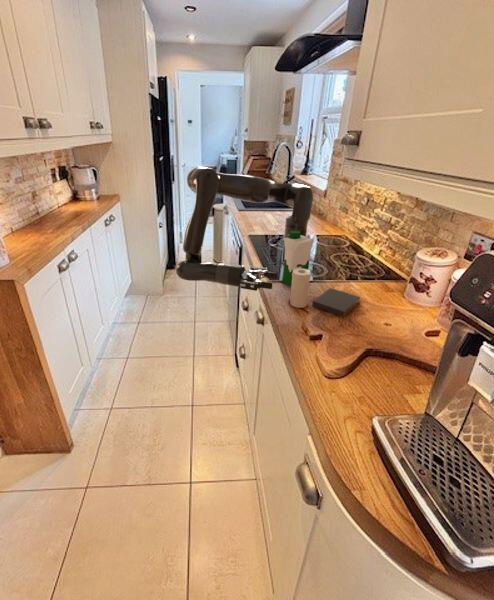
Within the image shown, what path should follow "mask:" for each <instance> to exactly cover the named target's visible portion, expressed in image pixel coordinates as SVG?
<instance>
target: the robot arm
mask: <svg viewBox="0 0 494 600" xmlns="http://www.w3.org/2000/svg"><path fill="white" fill-rule="evenodd" d="M186 183H187V186H188V188H189V189H190V191H191V192H193V193H194V194H195V202H194V207H193V211H192V214H191V216H190V218H189V220H188V223H187V225H186V228H185V232H184V237H183V244H182V251H183V252H184V253H185V258H184V260H181V261H180V262H178V263H177V264H176V266H175V273H176V275H177V276H178V278H180V279H181V280H183V281H188V282H189V281H192V282H195V281H196V282H200V281H201V282H203V281H204V282H209V283H215V284H220V285H226V286H233V287H239V288H240V289H243V290H249V291H254V292H256V291H258V289H259V290H261V289H267V290H272V289H273V282H271V281H264V280H262V279H266V278H267V279H273V280H277V279H278V275H279V274H278V272H276V271H268V268H267V267H261V266H260V267H258V266H250V268H249V270H248V269H247V270H246V267H245V266H244V265H241V264H232V263H218V262H203V261H202V259H203V258H202V257H203V255H202V254H203V253H202V250H203V246H204V241H205V235H206V230H207V226H208V222H209V218H210V215H211V212H212V209H213V207H214V203H215V200H216V197H217V195H221V196H224V197H225V196H226V197H229V198H232V199H234V200H235V199H236V200H238V201H239V200H240V201H243V202H249V203H255V204H264V203H271V202H272V203H277V204H282V205H285V206H288V207H290V208H292V212H291V215H288V216H287V217H285V222H284V237H283V239H284V238H286V237H288V236H289V232H290V231H292V230H297V231H300V232H301V233H300V235H302V236H305V237H307V233H308V224H309V221H310V218H311V215H312V209H313V203H314V192H313V189H312V188H311V187H310V186H307V185H304V184H299V183H283V182H275V181H273V180H271V179H268V178H265V177H260V176H256V175H249V174H235V173H233V174H230V173H223V172H218V171H216V170H215V169H214V168H212V167H207V166H197V167H195V168H193V169H191V170H190V171H189V173H188V175H187V177H186ZM284 259H285V244H284V243H283V247H282V259H281V263H282V264H283V265H284Z"/></svg>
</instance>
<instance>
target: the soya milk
mask: <svg viewBox="0 0 494 600" xmlns="http://www.w3.org/2000/svg"><path fill="white" fill-rule="evenodd" d="M300 233H301V232H300V231H297V230H292V231H290V232H289V236H288V237H286V238H284V237H283V245H284V244H285V259H284V264H283V272H282V277H281V283H282V284H284V285H287V286H289V287H291V285H292V274H293V270H294V269H298V268H303V269H307V270H309V266H310V259H311V251H312V248H313V244H314V241H315V239H314V238H311V237H309V236H306V237H305V236H302V235H300Z"/></svg>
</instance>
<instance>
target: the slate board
mask: <svg viewBox="0 0 494 600" xmlns="http://www.w3.org/2000/svg"><path fill="white" fill-rule="evenodd" d="M360 300H361V296H358V295H354V294H352V293H348V292H345V291H342V290H338V289H335V288H332V287H330V288H328V289H327V290H325V291H324V292H323V293H322V294H320V295H319V296H318V297H316V298H315V299H313V301H312V305H311V306H312V307H314V308H316V309H320V310H322V311H326V312H328V313H331V314H334V315H336V316H339V317H343V318H344V317H345V316H346V315H347V314H348V313H349V312H350V311H351V310H353V309H354V308H355V307H356V306H357V305H358V304H359V303H360V302H361V301H360Z"/></svg>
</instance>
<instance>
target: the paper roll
mask: <svg viewBox="0 0 494 600" xmlns="http://www.w3.org/2000/svg"><path fill="white" fill-rule="evenodd" d="M311 274H312V271H311V270H310V269H308V270H307V269H303V268H298V269H294V270H293V274H292V285H291V286H290V298H289V304H290V306H291V307H294V308H299V309H300V308H301V309H302V308H305V307H307V305H308V299H309V292H310V291H309V290H310V282H311Z"/></svg>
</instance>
